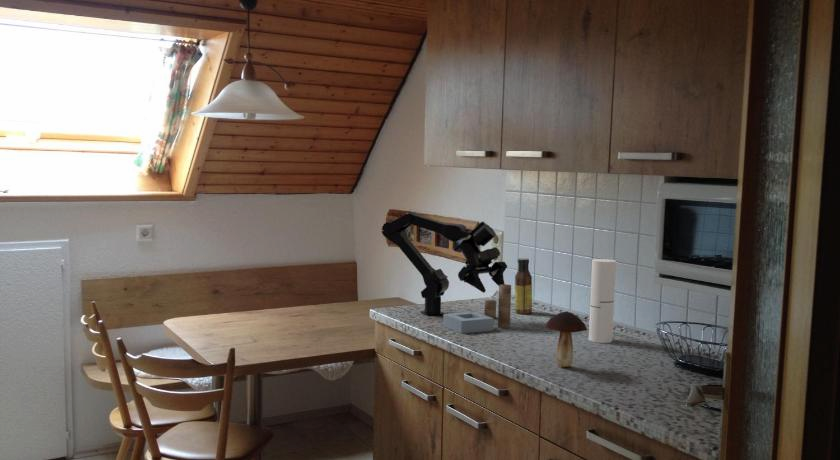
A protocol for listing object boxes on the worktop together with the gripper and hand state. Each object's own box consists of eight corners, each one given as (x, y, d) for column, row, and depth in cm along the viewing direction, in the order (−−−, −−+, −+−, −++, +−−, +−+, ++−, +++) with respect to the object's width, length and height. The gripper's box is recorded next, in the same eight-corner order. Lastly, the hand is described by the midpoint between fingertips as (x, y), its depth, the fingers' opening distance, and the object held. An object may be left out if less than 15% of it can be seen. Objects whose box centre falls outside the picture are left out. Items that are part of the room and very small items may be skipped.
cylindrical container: (612, 343, 232) (616, 262, 230) (588, 342, 233) (592, 261, 231) (611, 338, 239) (615, 259, 237) (588, 336, 240) (591, 258, 238)
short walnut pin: (482, 316, 268) (482, 300, 267) (491, 316, 270) (492, 299, 269) (488, 319, 264) (488, 302, 264) (497, 318, 266) (498, 301, 266)
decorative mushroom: (567, 360, 211) (569, 306, 210) (594, 369, 202) (596, 314, 200) (535, 364, 206) (537, 309, 205) (561, 374, 196) (563, 317, 195)
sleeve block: (443, 325, 252) (443, 313, 251) (474, 323, 257) (474, 311, 257) (461, 333, 241) (461, 321, 241) (493, 330, 247) (493, 318, 246)
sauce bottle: (531, 311, 280) (533, 257, 278) (532, 314, 273) (534, 260, 272) (513, 310, 280) (515, 257, 279) (514, 314, 274) (515, 259, 272)
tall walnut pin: (495, 326, 253) (496, 284, 252) (505, 325, 255) (506, 284, 253) (502, 328, 249) (503, 286, 248) (512, 327, 251) (513, 286, 250)
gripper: (464, 240, 252) (487, 278, 244) (504, 238, 263) (526, 273, 256) (448, 261, 258) (469, 298, 251) (487, 258, 270) (509, 293, 263)
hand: (494, 290), depth 255 cm, fingers open, 9 cm apart
